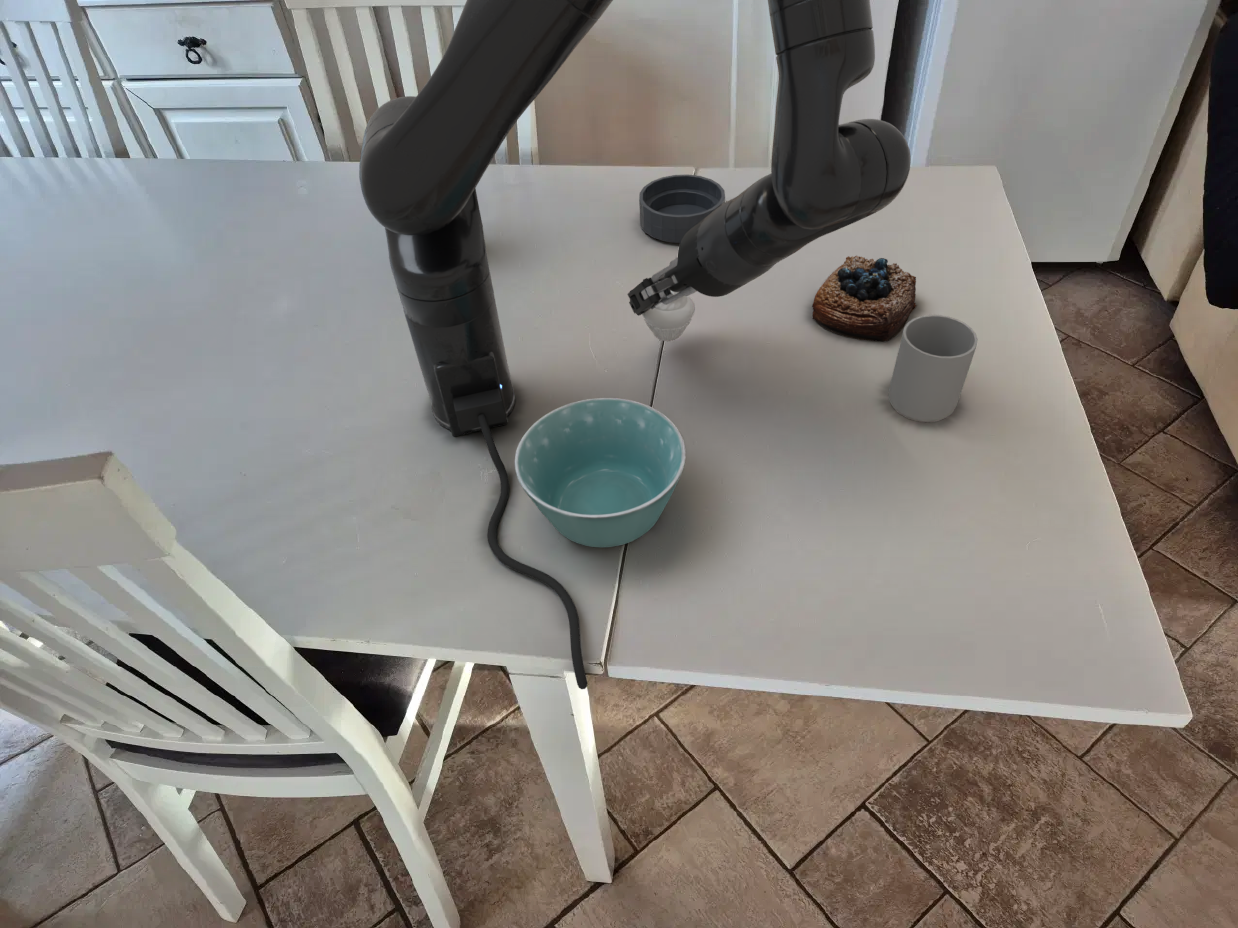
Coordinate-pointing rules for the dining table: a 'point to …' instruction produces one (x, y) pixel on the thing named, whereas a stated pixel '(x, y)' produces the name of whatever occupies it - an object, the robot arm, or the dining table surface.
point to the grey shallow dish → (677, 205)
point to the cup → (931, 367)
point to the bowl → (601, 468)
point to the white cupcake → (670, 318)
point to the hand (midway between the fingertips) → (658, 296)
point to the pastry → (865, 300)
